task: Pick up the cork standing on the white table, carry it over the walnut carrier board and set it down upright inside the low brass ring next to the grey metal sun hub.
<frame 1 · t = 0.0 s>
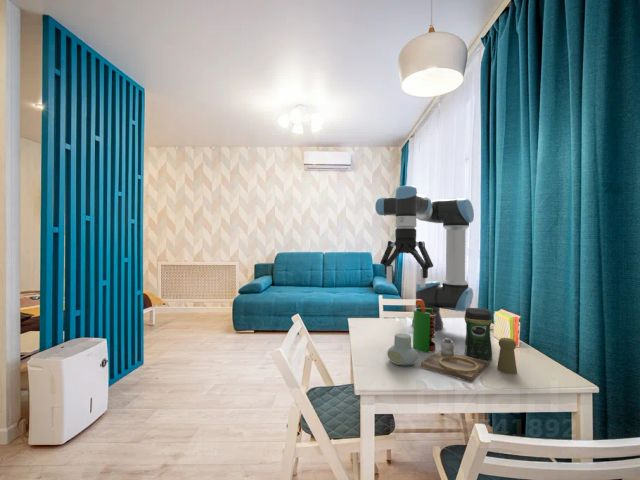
hand: (405, 285, 119), 28 cm above the table, fingers open, 13 cm apart
air freshener: (402, 363, 116), on the table
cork: (506, 371, 110), on the table
motor: (424, 348, 132), on the table
carrier board: (454, 366, 113), on the table
coffee jar: (477, 356, 123), on the table
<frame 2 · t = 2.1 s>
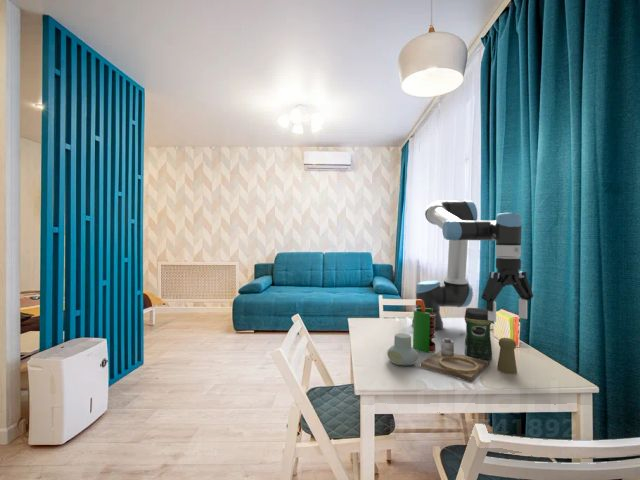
hand: (507, 319, 110), 18 cm above the table, fingers open, 13 cm apart
nothing on the table moved.
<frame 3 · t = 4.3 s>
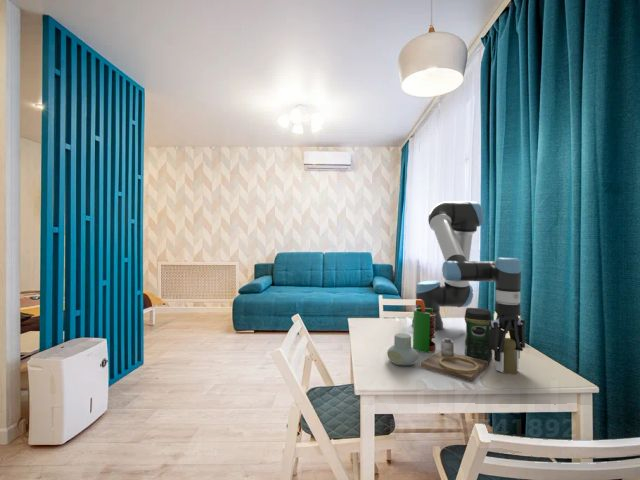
hand: (506, 369, 110), 0 cm above the table, fingers closed on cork, 6 cm apart
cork: (506, 370, 110), on the table, touching gripper
everything else where it was.
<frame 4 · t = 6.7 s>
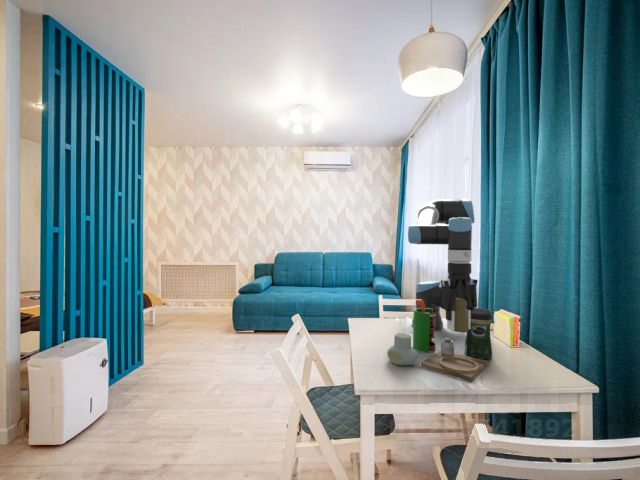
hand: (458, 328, 110), 14 cm above the table, fingers closed on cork, 6 cm apart
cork: (458, 330, 110), point 14 cm above the table, touching gripper
everything else where it was.
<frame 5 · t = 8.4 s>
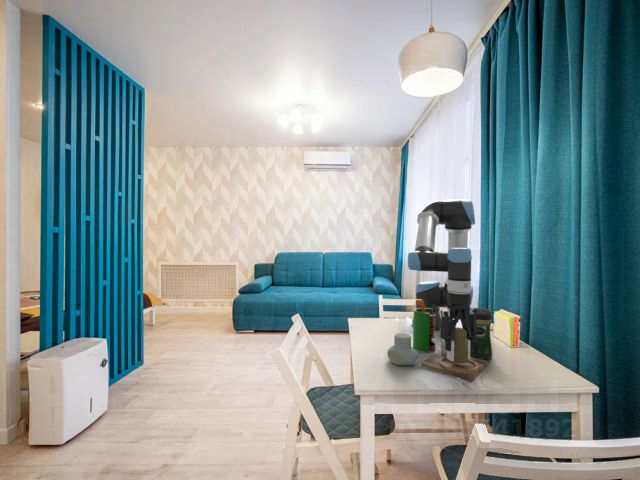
hand: (458, 358, 111), 4 cm above the table, fingers closed on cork, 6 cm apart
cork: (458, 360, 111), point 3 cm above the table, touching gripper
everything else where it was.
when the fingers open (3 cm above the table, at t = 9.6 s): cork drops 1 cm, resting on carrier board.
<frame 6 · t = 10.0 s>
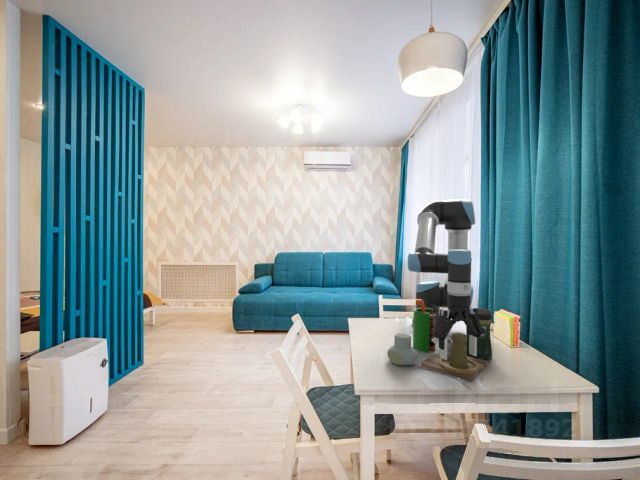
hand: (458, 356, 111), 4 cm above the table, fingers open, 11 cm apart
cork: (458, 365, 111), point 1 cm above the table, touching carrier board
everything else where it was.
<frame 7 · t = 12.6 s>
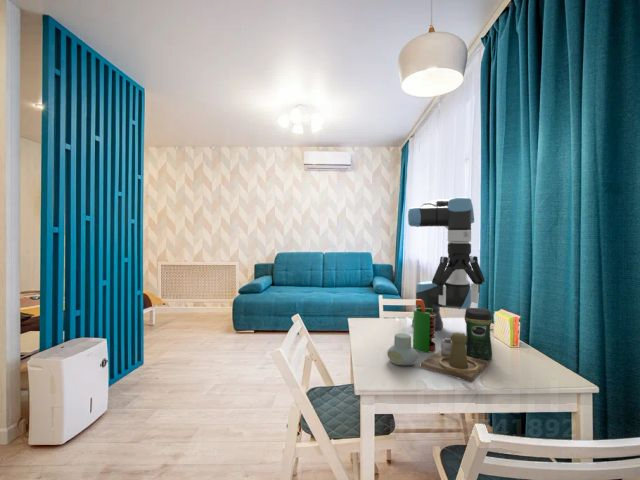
hand: (458, 303, 111), 23 cm above the table, fingers open, 13 cm apart
nothing on the table moved.
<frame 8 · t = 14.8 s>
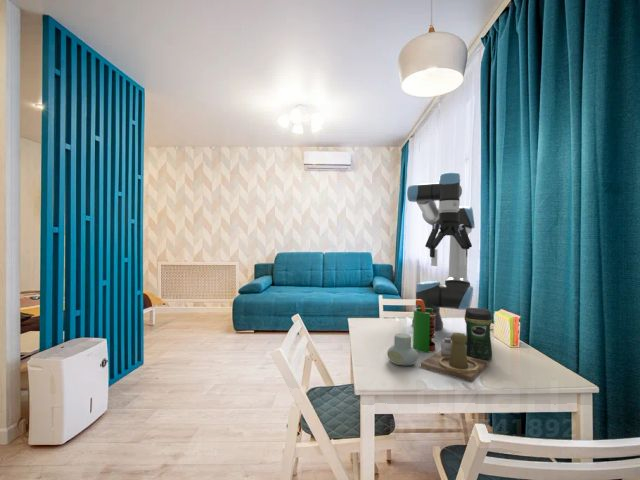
hand: (448, 265, 127), 35 cm above the table, fingers open, 13 cm apart
nothing on the table moved.
at the end: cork inside the target area on the carrier board (0.0 cm from its centre), point 1.3 cm above the carrier board's base; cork tilted 0°; the gripper is holding nothing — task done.
